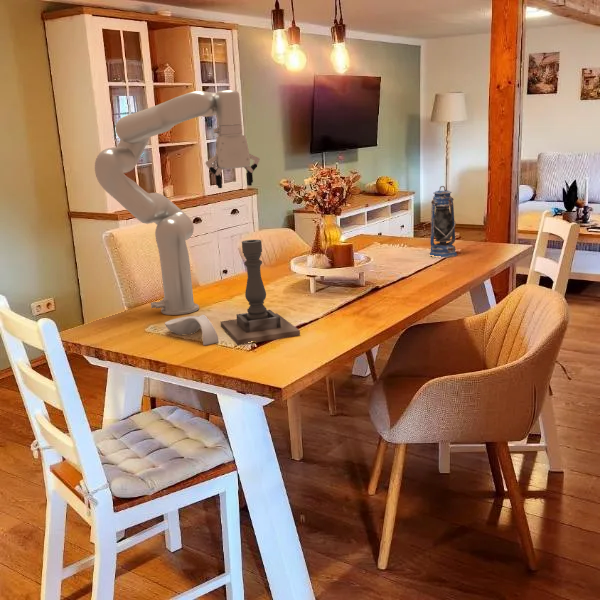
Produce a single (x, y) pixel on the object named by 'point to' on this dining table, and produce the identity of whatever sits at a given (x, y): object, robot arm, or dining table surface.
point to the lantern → (442, 225)
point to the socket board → (259, 328)
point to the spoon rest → (194, 327)
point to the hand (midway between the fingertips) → (234, 186)
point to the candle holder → (254, 280)
